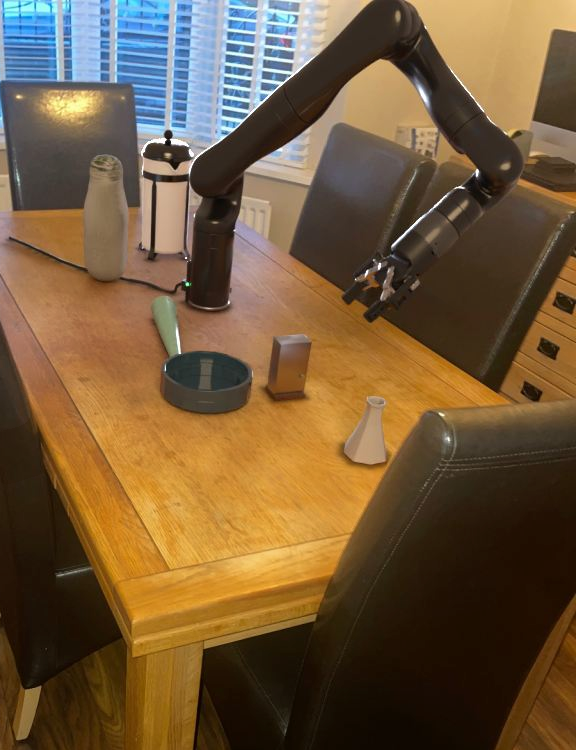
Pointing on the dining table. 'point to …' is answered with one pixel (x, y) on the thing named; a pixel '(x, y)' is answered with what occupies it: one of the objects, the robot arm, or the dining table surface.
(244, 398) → the bowl
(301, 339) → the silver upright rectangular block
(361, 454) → the flask
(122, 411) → the dining table surface
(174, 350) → the mint green cone
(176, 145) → the coffee press
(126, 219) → the glass bottle
